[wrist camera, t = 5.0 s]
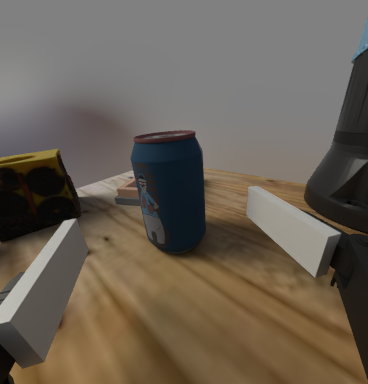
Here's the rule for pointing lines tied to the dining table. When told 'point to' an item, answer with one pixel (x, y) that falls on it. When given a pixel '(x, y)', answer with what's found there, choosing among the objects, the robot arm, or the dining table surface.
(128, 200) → the coaster
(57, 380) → the dining table surface
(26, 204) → the yellow black cube
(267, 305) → the dining table surface
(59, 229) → the robot arm
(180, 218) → the soda can
